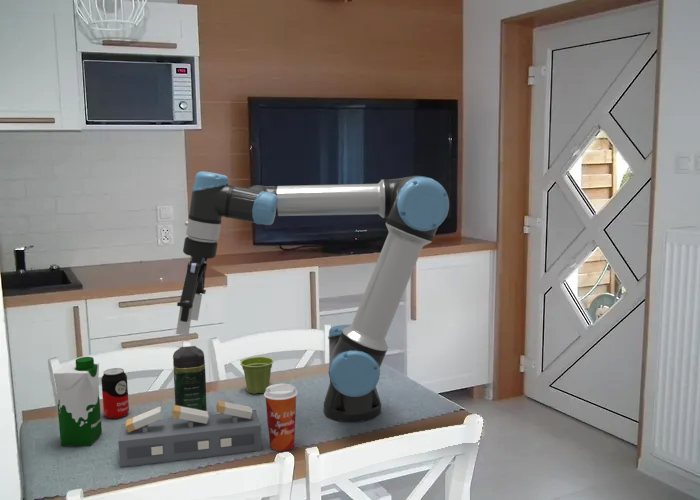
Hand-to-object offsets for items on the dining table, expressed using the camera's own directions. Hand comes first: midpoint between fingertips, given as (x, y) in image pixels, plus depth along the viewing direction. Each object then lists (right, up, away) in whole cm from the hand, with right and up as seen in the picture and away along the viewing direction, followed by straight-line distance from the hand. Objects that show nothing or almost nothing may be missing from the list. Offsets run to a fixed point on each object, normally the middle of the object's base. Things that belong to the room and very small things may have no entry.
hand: (187, 326), depth 163 cm
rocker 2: (+2, -20, -4) cm, 20 cm away
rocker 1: (-8, -20, -7) cm, 23 cm away
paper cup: (+23, -28, -2) cm, 36 cm away
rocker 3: (+11, -19, -2) cm, 22 cm away
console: (+2, -28, -3) cm, 28 cm away
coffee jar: (-2, -26, +15) cm, 30 cm away
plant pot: (+12, -22, +35) cm, 43 cm away
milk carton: (-26, -28, +3) cm, 38 cm away
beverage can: (-23, -25, +18) cm, 39 cm away
